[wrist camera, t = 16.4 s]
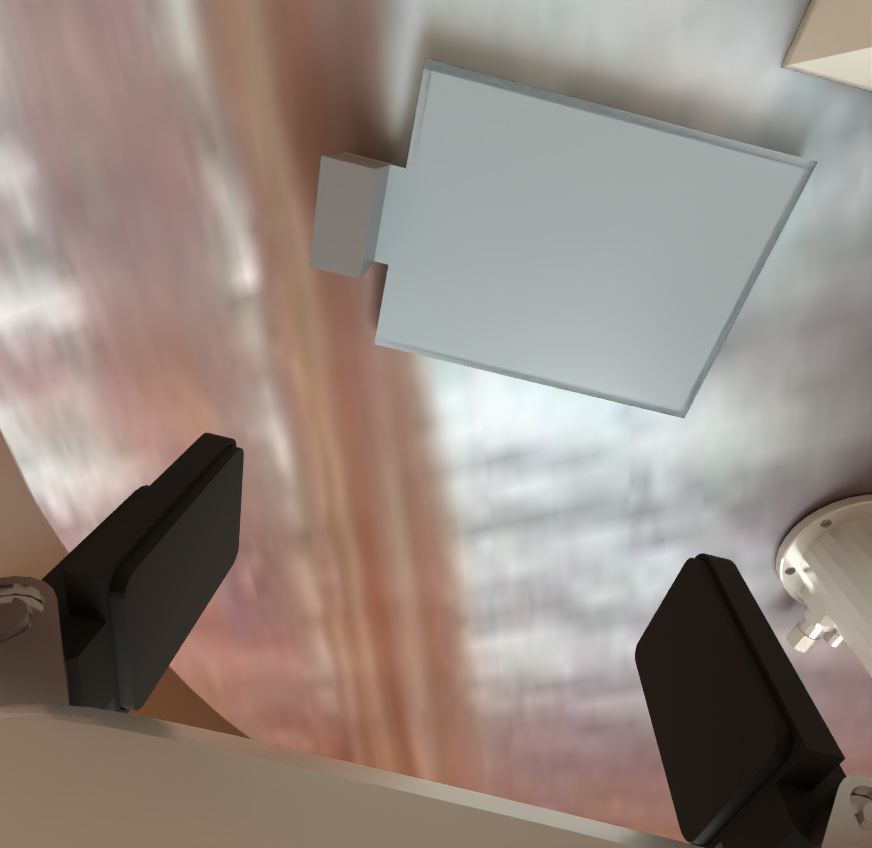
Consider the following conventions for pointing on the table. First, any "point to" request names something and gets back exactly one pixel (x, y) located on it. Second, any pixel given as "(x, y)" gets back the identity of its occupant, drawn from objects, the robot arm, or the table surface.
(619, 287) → the lid
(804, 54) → the box
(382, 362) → the table surface
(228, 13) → the table surface
